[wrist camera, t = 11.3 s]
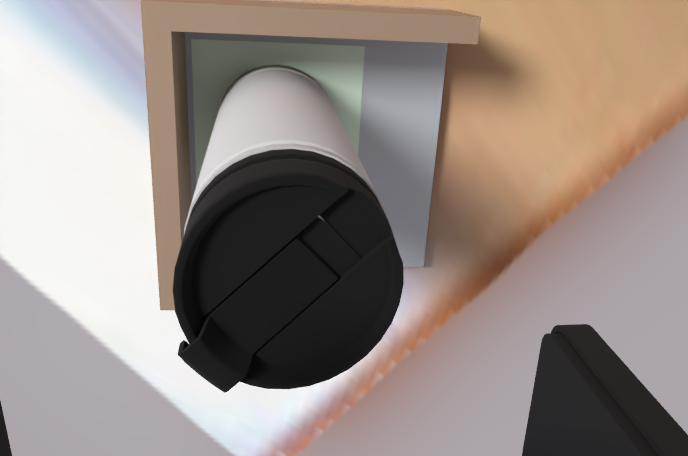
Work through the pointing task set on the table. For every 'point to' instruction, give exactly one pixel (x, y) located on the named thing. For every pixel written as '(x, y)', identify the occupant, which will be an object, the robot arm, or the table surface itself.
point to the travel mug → (283, 243)
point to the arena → (326, 69)
